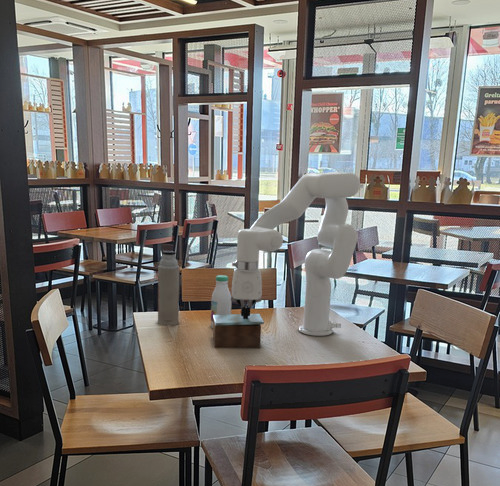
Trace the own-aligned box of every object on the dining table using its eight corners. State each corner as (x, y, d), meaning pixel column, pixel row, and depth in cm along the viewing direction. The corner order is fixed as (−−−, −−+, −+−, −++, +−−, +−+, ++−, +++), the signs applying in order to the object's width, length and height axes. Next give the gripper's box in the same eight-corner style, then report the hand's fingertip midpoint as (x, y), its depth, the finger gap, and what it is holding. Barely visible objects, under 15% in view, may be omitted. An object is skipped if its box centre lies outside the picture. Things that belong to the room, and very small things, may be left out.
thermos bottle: (155, 324, 220) (155, 252, 213) (161, 319, 227) (161, 249, 221) (175, 326, 219) (176, 253, 212) (180, 321, 226) (181, 250, 220)
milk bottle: (231, 325, 223) (233, 274, 219) (229, 330, 216) (231, 278, 211) (212, 324, 224) (213, 273, 219) (209, 329, 216) (210, 277, 212)
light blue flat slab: (259, 315, 206) (259, 313, 205) (263, 324, 195) (263, 321, 194) (213, 317, 204) (213, 314, 203) (215, 325, 193) (215, 323, 193)
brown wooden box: (255, 338, 207) (256, 317, 206) (260, 347, 196) (261, 325, 195) (212, 338, 205) (213, 317, 204) (214, 347, 194) (215, 325, 193)
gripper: (226, 267, 191) (224, 320, 195) (270, 268, 192) (268, 321, 197) (224, 263, 198) (223, 315, 202) (267, 264, 200) (265, 315, 204)
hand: (245, 317), depth 199 cm, fingers closed
